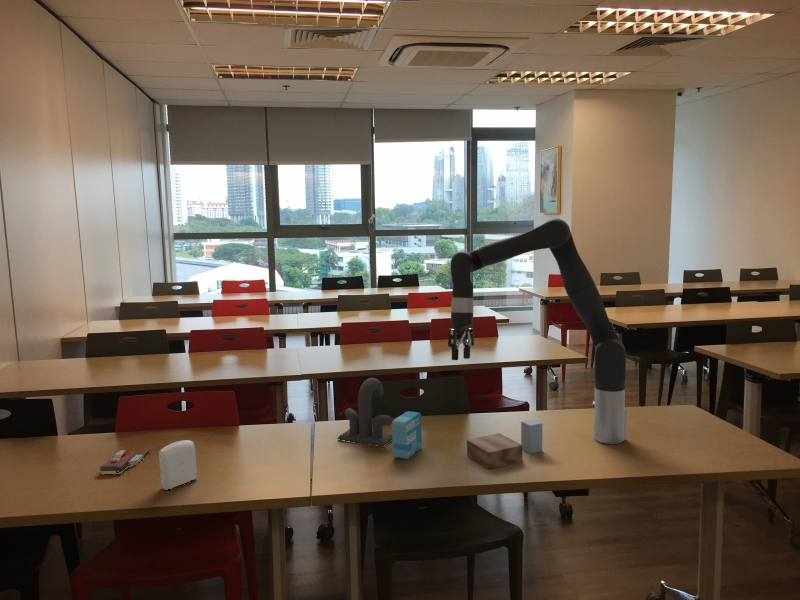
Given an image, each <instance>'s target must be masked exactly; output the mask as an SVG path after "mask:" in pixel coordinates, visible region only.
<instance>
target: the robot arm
mask: <svg viewBox="0 0 800 600" xmlns="http://www.w3.org/2000/svg"><path fill="white" fill-rule="evenodd" d="M544 249H549V250H550V252H551V254H552V255H553V257H554V259H555V261H556V263H557V266H558V270H559V273H560V278H561V281H562V285H563V287H564V290H565V293H566V295H567V297H568V299H569V301H570V303H571V305H572V307H573V309H574V311H575V313H576V314H577V315H578V317H579V318H580V320H581V321H582V322H583V324H584V325H585V328H586V329H587V332H588V333H589V335H590V338H591V341H592V343H593V347H594V409H593V410H594V411H593V412H594V413H593V416H594V421H593V422H594V425H593V429H594V430H593V433H594V434H593V439H594V440H595V441H596V442H598V443H601V444H607V445H618V444H622V443H623V442H624V441H625V440H627V428H628V427H627V424H628V418H627V417H628V411H627V410H625V405H626V403H625V401H626V396H625V395H626V371H627V370H626V368H627V365H626V363H627V352H626V348H625V345H624V344H623V342H622V340H621V339H620V337H619V335H618V333H617V332H616V331H615V329H614V327H613V326H612V323H611V321H610V319H609V317H608V316H609V315H608V313H607V311H606V307H605V305H604V302H603V298H602V297H601V294H600V292H599V290H598V287H597V284H596V282H595V281H594V279H593V277H592V275H591V272H590V271H589V270H588V268H587V266H586V265H585V263H584V261H583V259H582V258H581V255H580V254H579V251H578V249H577V246H576V244H575V242H574V238H573V235H572V232H571V228H570V226H569V224H568V223H567V221H565V220H563V219H560V218H551V219H548V220H546V221H545V222H544V223H542V224H541V225H539V226H536V227H535V228H533V229H531V230H528V231H525V232H523V233H520V234H518V235H514V236H513V235H512V236H510V237H506V238H502V239H499V240H495V241H492V242H489V243H487V244H484V245H481V246H479V248H478V249H475V250H472V251H468V252H466V251H457V252H455V253H454V254H453V256H452V257H451V259H450V275H451V283H452V289H451V290H452V293H451V304H450V308H451V309H450V325H452V326H453V328H449V329H448V339H447V347H448V348H450V349H451V360H452V361H459V355H460V354H459V352H460V351H459V348H460V345H461V344H462V345H463V353H462V354H463V359H464V360H470V358H471V348H472V346H475V329H474V328H473V327H472V326H473V325H474V283H473V282H472V280H471V279H472V278H471V277H472V276H471V273H473V272H476V271H478V270H480V269H483V268H485V267H488V266H492V265H495V264H496V265H497V264H499V263H501V262H505V261H508V260H510V259H512V258H515V257H518V256H520V255H523V254H526V253H530V252H534V251H538V250H544Z"/></svg>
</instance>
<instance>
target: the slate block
mask: <svg viewBox="0 0 800 600" xmlns="http://www.w3.org/2000/svg"><path fill="white" fill-rule="evenodd" d="M520 422H521V423H520V428H521V429H520V430H521V432H520V433H521V434H520V437H521V438H520V439H521V443H520V444H521V445H522V451H524V452H527V453H528V454H530V455H531V454H536V453H540V452H543V422H541V421H539V420H537V419H535V418H532V419H526V420H522V421H520Z"/></svg>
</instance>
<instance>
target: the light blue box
mask: <svg viewBox="0 0 800 600" xmlns="http://www.w3.org/2000/svg"><path fill="white" fill-rule="evenodd" d="M422 430H423V429H422V414H421V412H417V411H405V412H404V413H403V414H401V415H399V416H397V417H396V418H394V419H393V420H392V423H391V434H392V441H391V442H392V456H393V458H397V459H403V460H408V459H409V457H410V456H411V457H412V456H413V455H415V454H416V453H417V452H418V451H419V449H420V448H421V449H422V447H423V436H422V435H423V434H422V433H423V431H422ZM421 449H420V450H421ZM416 451H417V452H416ZM415 452H416V453H415ZM414 453H415V454H414ZM411 457H410V458H411Z"/></svg>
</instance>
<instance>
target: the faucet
mask: <svg viewBox="0 0 800 600" xmlns="http://www.w3.org/2000/svg"><path fill="white" fill-rule="evenodd" d="M384 393H385V392H384V386H383V384H382V382H381V381H380V380H379V379H377V378H375V377H369V378H366V380H364V381H363V383H362V384H361V386H360V388H359V391H358V395H357V410H358V411H357V412H358V413H357V412H356V410H354V409H352V408H351V407H348V408H346V409H345V410H344V416H345V418H346V419H348V420H349V422H348V423H349V429H348V430H346V431H345V432H343V433H341V434H340V435H339V436H338V437H337V440H338V439H340V440H345V441H350V442H355V443H354V444H357V443H362V444H361V445H364V444H371V445H378V446H384V445H385V444H387V443H388V442H390V441H391V440H392V433H386V432H383V426H386V427H388V426H389V427H390V426H392V423H393V417H392V416H391V415H385V414H379V415H376V416H375V417H374V419H373V417H372V415H373V414H372V397H373V396H374V397H380V396H383V395H384ZM350 442H349V443H350ZM391 442H392V441H391ZM391 442H390V443H391ZM388 444H389V443H388ZM388 444H387V445H388ZM371 445H370V446H371ZM378 446H377V447H378ZM384 447H385V446H384Z"/></svg>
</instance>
